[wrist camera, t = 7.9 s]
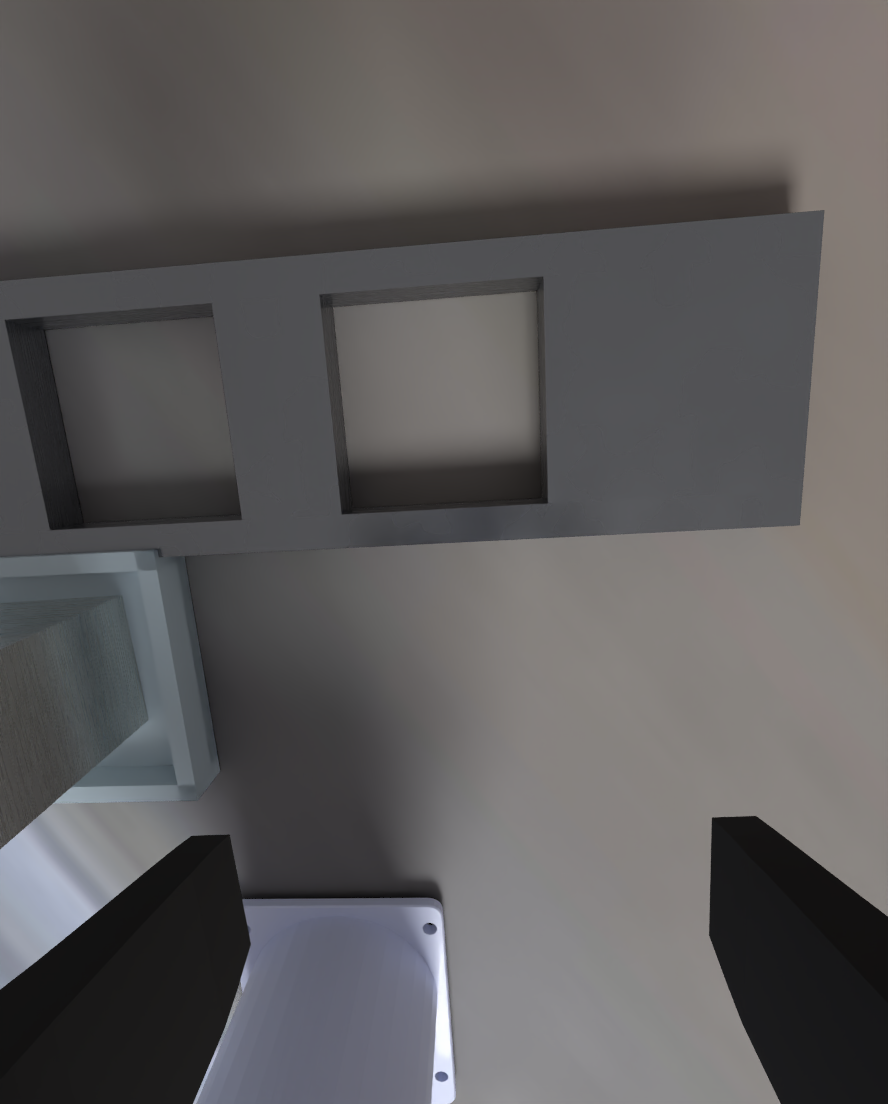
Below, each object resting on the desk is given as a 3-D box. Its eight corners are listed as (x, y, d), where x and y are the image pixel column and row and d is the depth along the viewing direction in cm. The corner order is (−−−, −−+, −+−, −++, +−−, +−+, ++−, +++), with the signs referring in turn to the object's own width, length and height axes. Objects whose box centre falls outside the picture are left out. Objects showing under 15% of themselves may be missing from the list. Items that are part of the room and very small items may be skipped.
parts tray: (220, 771, 19) (197, 800, 18) (-2, 776, 20) (-43, 805, 18) (181, 540, 17) (153, 550, 16) (-60, 553, 18) (-111, 563, 16)
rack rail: (772, 518, 16) (799, 525, 15) (-24, 558, 18) (-65, 568, 17) (791, 231, 15) (824, 210, 13) (-87, 304, 16) (-138, 293, 15)
